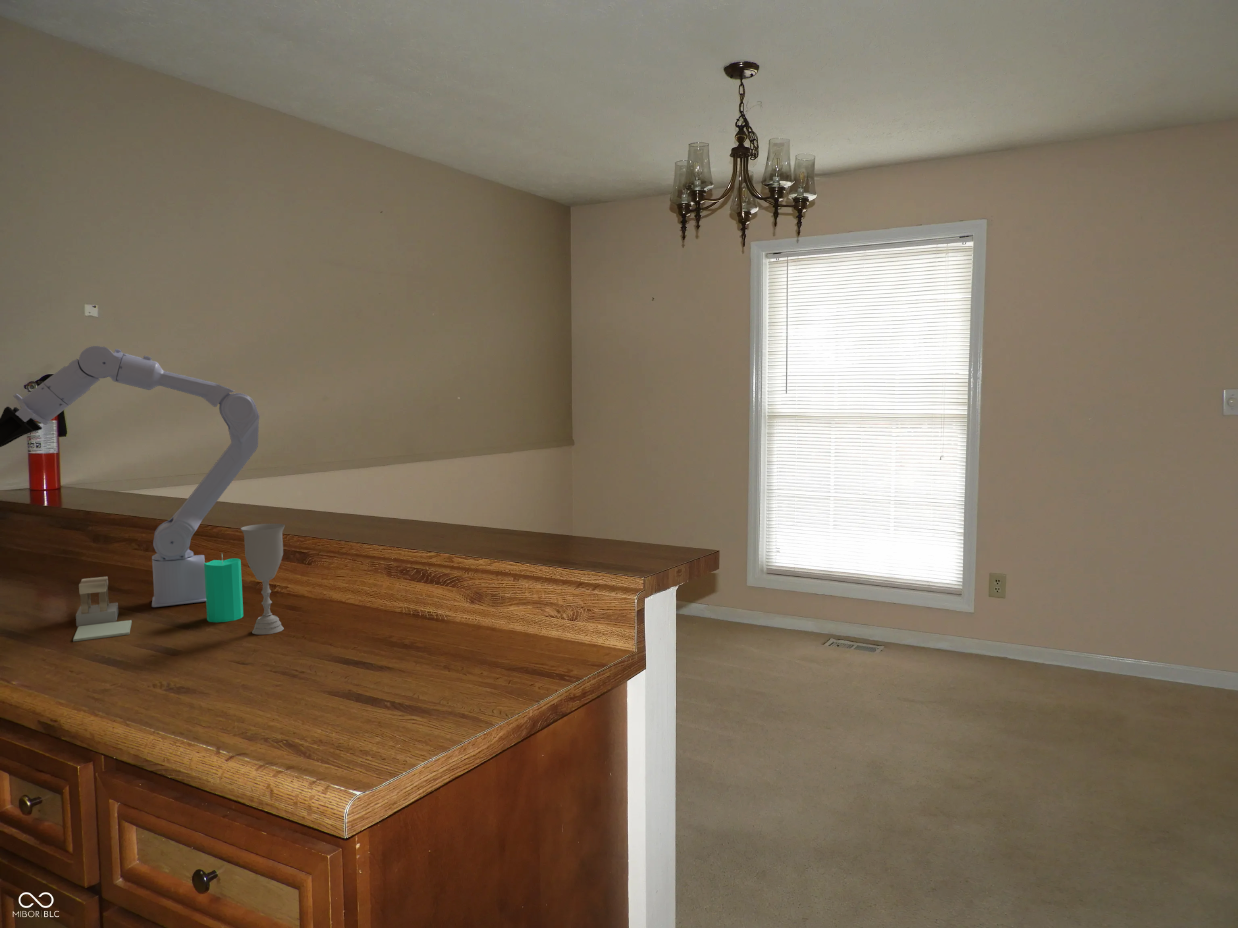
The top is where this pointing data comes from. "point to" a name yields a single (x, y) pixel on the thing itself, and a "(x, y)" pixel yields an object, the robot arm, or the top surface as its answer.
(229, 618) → the candle
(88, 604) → the beige toy stool
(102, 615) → the step
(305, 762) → the top surface
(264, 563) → the chalice
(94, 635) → the mat
